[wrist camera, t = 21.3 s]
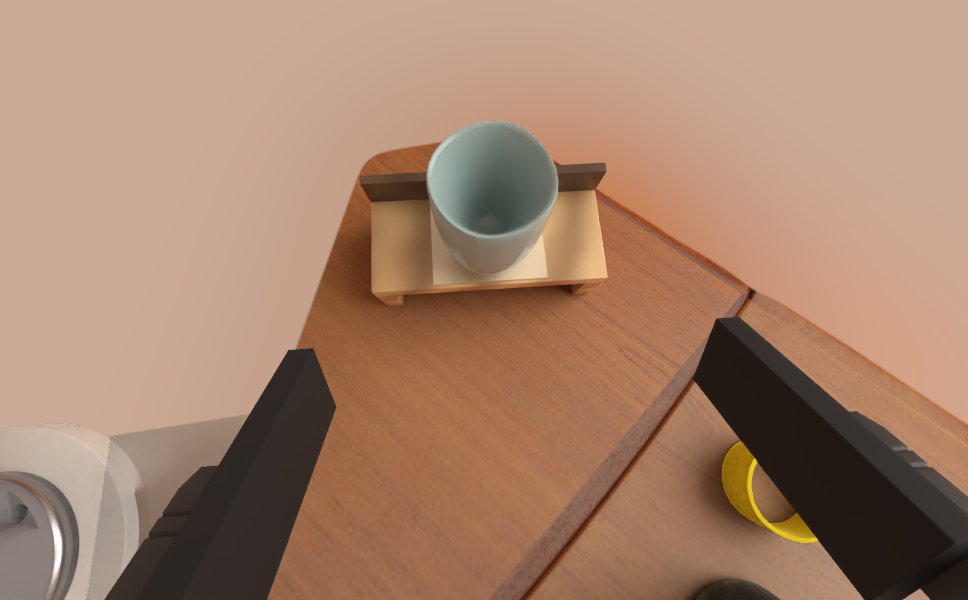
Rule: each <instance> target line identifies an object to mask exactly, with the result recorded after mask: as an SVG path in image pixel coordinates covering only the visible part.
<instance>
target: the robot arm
mask: <svg viewBox="0 0 968 600" xmlns="http://www.w3.org/2000/svg"><path fill="white" fill-rule="evenodd" d="M693 379H694V381H695V382H696V383H697V385H698V386H699V387H700V388H701V390H702V391H703V392H704V394H705V395H706V396H707V397H708V399H709V400H710V401H711V403H712V404H713V405H714V406H715V408H716V409H717V410H718V412H719V413H720V414H721V415H722V417H723V418H724V419H725V421H726V422H727V423H728V425H729V426H730V427H731V428H732V430H733V431H734V432H735V434H736V435H737V436H738V437H739V439H740V440H741V441H742V443H743V444H744V445H745V446H746V448H747V449H748V450H749V452H750V453H751V454H752V455H753V457H754V458H755V459H756V461H757V462H758V463H759V464H760V466H761V467H762V468H763V470H764V471H765V472H766V474H767V475H768V476H769V477H770V479H771V480H772V481H773V483H774V484H775V485H776V486H777V488H778V489H779V490H780V492H781V493H782V494H783V495H784V497H785V498H786V499H787V501H788V502H789V503H790V504H791V506H792V507H793V508H794V510H795V511H796V512H797V514H798V515H799V516H800V517H801V519H802V520H803V521H804V523H805V524H806V525H807V526H808V528H809V529H810V530H811V532H812V533H813V534H814V535H815V537H816V538H817V539H818V541H819V542H820V543H821V544H822V546H823V547H824V548H825V550H826V551H827V552H828V553H829V555H830V556H831V557H832V559H833V560H834V561H835V563H836V564H837V565H838V566H839V568H840V569H841V570H842V572H843V573H844V574H845V575H846V577H847V578H848V579H849V581H850V582H851V583H852V584H853V586H854V587H855V588H856V590H857V591H858V592H859V593H860V595H861V596H862V597H863V599H864V600H902V599H904V598H906V597H907V596H909V595H910V594H912V593H913V592H915V591H917V590H918V589H921V590H922V591H923V592H924V593H925V594H926V595H927V596H928V597H929V599H930V600H968V497H967V496H966V495H965V494H964V493H963V492H961V491H960V490H959V489H958V488H957V487H955V486H954V485H953V484H952V483H951V482H949V481H948V480H947V479H946V478H945V477H943V476H942V475H941V474H940V473H938V472H937V471H936V470H935V469H934V468H932V467H931V468H930V467H928V466H927V463H926V462H925V461H924V460H923V459H922V458H920V457H919V456H918V455H917V454H916V453H914V452H913V451H909V450H908V449H907V446H906V445H905V444H903V443H902V442H901V441H900V440H899V439H897V438H896V437H895V436H894V435H893V434H891V433H890V432H889V431H888V430H887V429H885V428H884V427H882V426H881V425H879V424H877V423H876V422H874V421H872V420H870V419H869V418H867V417H865V416H863V415H862V414H860V413H858V412H857V411H854V412H849V411H848V410H846V409H845V408H844V407H843V406H842V405H841V404H839V403H838V402H837V401H836V400H835V399H834V398H832V397H831V396H830V395H829V394H828V393H827V392H826V391H824V390H823V389H822V388H821V387H820V386H819V385H817V384H816V383H815V382H814V381H813V380H812V379H810V378H809V377H808V376H807V375H806V374H805V373H803V372H802V371H801V370H800V369H799V368H798V367H796V366H795V365H794V364H793V363H792V362H791V361H790V360H788V359H787V358H786V357H785V356H784V355H783V354H781V353H780V352H779V351H778V350H777V349H776V348H774V347H773V346H772V345H771V344H770V343H769V342H767V341H766V340H765V339H764V338H763V337H762V336H760V335H759V334H758V333H757V332H756V331H755V330H754V329H752V328H751V327H750V326H749V325H748V324H747V323H745V322H744V321H743V320H742V319H741V318H740V317H732V318H718V319H716V321H715V323H714V326H713V329H712V331H711V334H710V336H709V339H708V341H707V344H706V347H705V349H704V352H703V354H702V357H701V360H700V362H699V365H698V367H697V370H696V372H695V375H694V378H693ZM335 409H336V405H335V402H334V400H333V397H332V395H331V392H330V390H329V387H328V385H327V382H326V380H325V377H324V374H323V372H322V369H321V367H320V364H319V362H318V359H317V357H316V354H315V352H314V349H313V348H310V349H296V350H288V352H287V354H286V355H285V357H284V359H283V360H282V362H281V364H280V365H279V367H278V369H277V370H276V372H275V373H274V375H273V377H272V378H271V380H270V382H269V383H268V385H267V387H266V388H265V390H264V392H263V393H262V395H261V396H260V398H259V400H258V401H257V403H256V405H255V406H254V408H253V410H252V411H251V413H250V415H249V416H248V418H247V420H246V421H245V423H244V424H243V426H242V428H241V429H240V431H239V433H238V434H237V436H236V438H235V439H234V441H233V443H232V444H231V446H230V448H229V449H228V451H227V453H226V454H225V456H224V457H223V459H222V461H221V462H220V464H219V466H208V467H201V468H200V469H199V470H198V471H197V472H196V473H195V474H194V475H193V476H191V477H190V478H189V479H188V480H187V481H186V482H185V483H184V484H183V485H182V486H181V487H180V488H179V489H178V491H177V492H176V494H175V495H174V497H173V498H172V500H171V501H170V503H169V504H168V506H167V507H166V509H165V510H164V512H163V516H162V517H161V518H159V519H158V521H157V522H156V524H155V525H154V527H153V528H152V530H151V531H150V533H149V537H148V538H147V539H145V540H144V542H143V543H142V545H141V546H140V547H139V549H138V550H137V552H136V553H135V555H134V556H133V558H132V559H131V561H130V562H129V564H128V565H127V567H126V568H125V570H124V571H123V573H122V574H121V576H120V577H119V579H118V580H117V582H116V583H115V585H114V586H113V588H112V589H111V591H110V592H109V594H108V595H107V597H106V598H105V600H267V598H268V595H269V593H270V590H271V587H272V584H273V581H274V579H275V576H276V573H277V570H278V568H279V565H280V562H281V559H282V556H283V554H284V551H285V548H286V545H287V543H288V540H289V537H290V534H291V531H292V529H293V526H294V523H295V520H296V518H297V515H298V512H299V509H300V506H301V504H302V501H303V498H304V495H305V493H306V490H307V487H308V484H309V482H310V479H311V476H312V473H313V470H314V468H315V465H316V462H317V459H318V457H319V454H320V451H321V448H322V445H323V443H324V440H325V437H326V434H327V432H328V429H329V426H330V423H331V420H332V418H333V415H334V412H335ZM78 556H79V530H78V524H77V520H76V517H75V513H74V511H73V509H72V506H71V505H70V503H69V501H68V499H67V498H66V497H65V495H64V494H63V493H62V492H61V491H60V490H59V489H58V488H57V487H56V486H55V485H54V484H52V483H51V482H49V481H48V480H46V479H44V478H42V477H40V476H37V475H34V474H31V473H26V472H18V471H6V472H0V600H64V599H65V597H66V595H67V593H68V591H69V589H70V586H71V583H72V581H73V578H74V574H75V571H76V567H77V562H78Z"/></svg>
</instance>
